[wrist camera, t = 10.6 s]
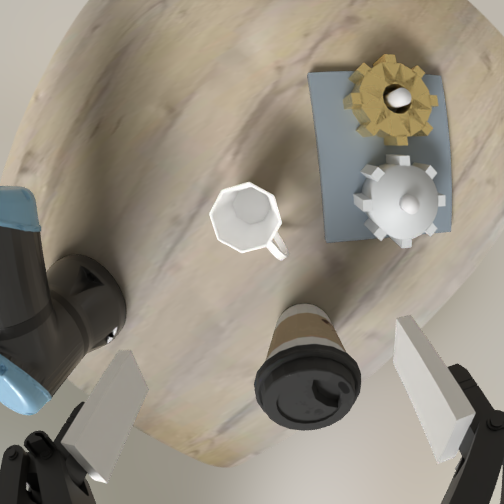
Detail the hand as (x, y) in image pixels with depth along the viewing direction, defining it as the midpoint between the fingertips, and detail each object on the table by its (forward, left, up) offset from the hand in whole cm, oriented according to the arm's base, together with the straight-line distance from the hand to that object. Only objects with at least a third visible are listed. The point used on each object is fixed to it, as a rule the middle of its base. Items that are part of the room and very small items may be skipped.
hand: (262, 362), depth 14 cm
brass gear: (+14, +14, -24) cm, 31 cm away
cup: (-2, +2, -26) cm, 26 cm away
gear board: (+14, +8, -25) cm, 30 cm away
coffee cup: (+2, -14, -26) cm, 29 cm away
